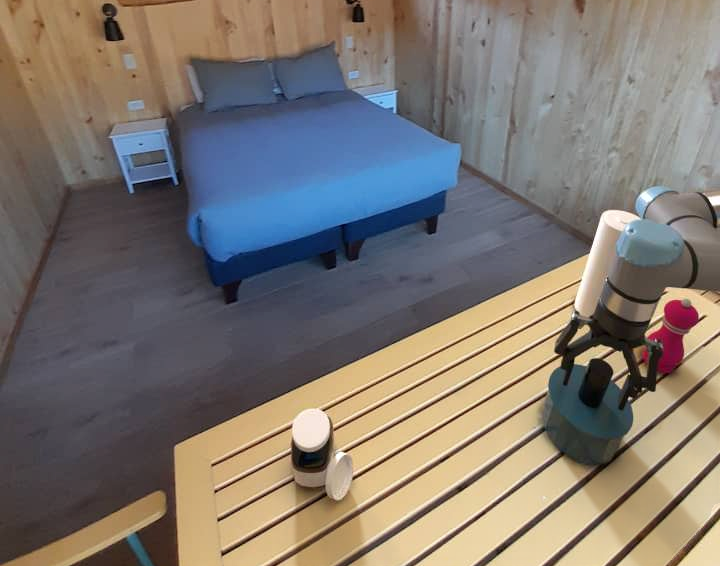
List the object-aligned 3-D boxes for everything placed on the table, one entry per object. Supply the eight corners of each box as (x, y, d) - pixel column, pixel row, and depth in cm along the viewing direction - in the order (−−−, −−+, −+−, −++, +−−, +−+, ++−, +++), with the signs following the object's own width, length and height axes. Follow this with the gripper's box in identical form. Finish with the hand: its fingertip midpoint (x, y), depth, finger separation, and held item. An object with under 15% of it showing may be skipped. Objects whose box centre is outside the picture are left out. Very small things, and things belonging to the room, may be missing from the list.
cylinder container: (605, 330, 103) (640, 236, 89) (568, 308, 109) (595, 218, 96) (619, 310, 108) (653, 219, 95) (583, 291, 115) (610, 203, 101)
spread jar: (300, 434, 82) (294, 399, 77) (355, 435, 81) (353, 400, 76) (288, 506, 71) (281, 471, 66) (352, 508, 71) (350, 472, 65)
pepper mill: (633, 354, 97) (659, 293, 88) (652, 344, 99) (680, 283, 90) (663, 380, 91) (695, 317, 82) (683, 368, 93) (716, 306, 84)
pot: (616, 415, 84) (629, 387, 80) (615, 481, 74) (630, 452, 69) (547, 385, 90) (555, 357, 86) (536, 441, 80) (546, 412, 76)
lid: (631, 388, 80) (646, 354, 76) (632, 458, 69) (650, 424, 64) (552, 356, 87) (562, 323, 82) (541, 415, 76) (552, 381, 71)
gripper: (703, 315, 64) (658, 402, 74) (557, 269, 74) (535, 352, 84) (710, 351, 58) (661, 439, 69) (552, 296, 68) (529, 381, 79)
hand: (592, 391), depth 76 cm, fingers open, 9 cm apart
